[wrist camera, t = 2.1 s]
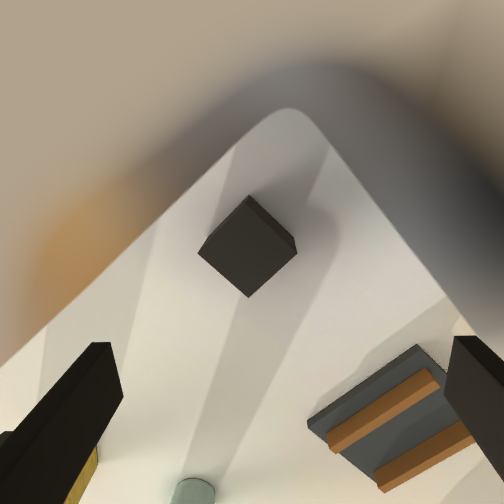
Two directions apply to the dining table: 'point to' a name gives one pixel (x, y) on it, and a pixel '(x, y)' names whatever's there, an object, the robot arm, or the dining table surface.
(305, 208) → the dining table surface
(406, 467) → the base pad
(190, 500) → the cup
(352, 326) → the dining table surface
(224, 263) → the black pad
